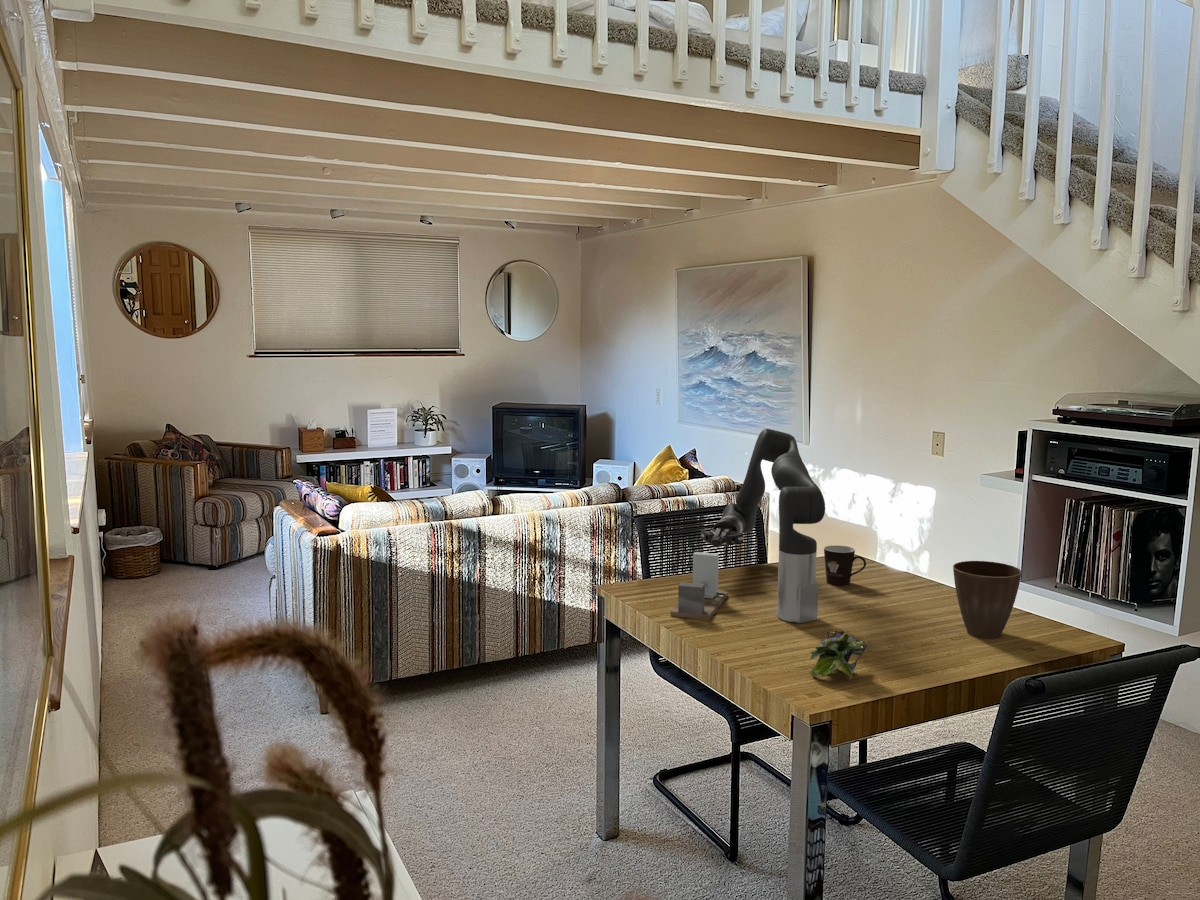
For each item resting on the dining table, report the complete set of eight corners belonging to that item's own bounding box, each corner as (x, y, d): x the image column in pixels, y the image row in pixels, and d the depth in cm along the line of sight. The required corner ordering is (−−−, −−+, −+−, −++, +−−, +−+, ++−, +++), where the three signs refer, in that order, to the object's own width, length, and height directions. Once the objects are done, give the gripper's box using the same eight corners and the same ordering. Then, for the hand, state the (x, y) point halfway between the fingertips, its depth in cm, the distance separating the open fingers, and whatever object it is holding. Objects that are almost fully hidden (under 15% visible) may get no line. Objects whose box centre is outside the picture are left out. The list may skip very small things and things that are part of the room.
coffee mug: (816, 580, 263) (817, 547, 262) (840, 577, 267) (841, 544, 265) (843, 591, 253) (844, 556, 251) (867, 587, 256) (868, 552, 255)
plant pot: (977, 646, 209) (980, 578, 206) (936, 626, 223) (939, 562, 221) (1031, 641, 212) (1036, 574, 210) (988, 621, 227) (992, 558, 225)
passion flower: (832, 693, 196) (856, 643, 198) (862, 703, 186) (887, 650, 188) (792, 667, 193) (817, 617, 196) (820, 676, 183) (846, 623, 185)
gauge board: (691, 592, 251) (691, 563, 250) (727, 596, 248) (727, 566, 247) (670, 616, 231) (670, 584, 230) (709, 620, 227) (709, 588, 226)
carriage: (694, 591, 247) (695, 551, 246) (725, 594, 244) (726, 554, 243) (687, 599, 240) (688, 558, 238) (719, 602, 237) (720, 561, 235)
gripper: (706, 515, 273) (692, 528, 256) (750, 519, 268) (739, 532, 252) (706, 540, 274) (692, 554, 258) (750, 543, 269) (738, 558, 253)
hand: (715, 543), depth 255 cm, fingers closed
